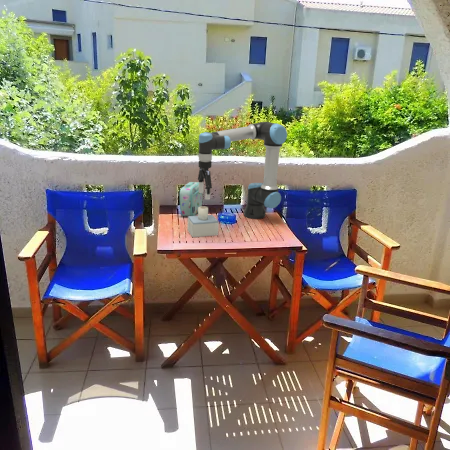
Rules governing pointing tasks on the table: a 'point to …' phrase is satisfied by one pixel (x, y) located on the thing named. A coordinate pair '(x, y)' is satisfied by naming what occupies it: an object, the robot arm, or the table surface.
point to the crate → (202, 229)
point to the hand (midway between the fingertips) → (204, 195)
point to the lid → (210, 220)
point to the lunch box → (190, 199)
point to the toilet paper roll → (202, 213)
